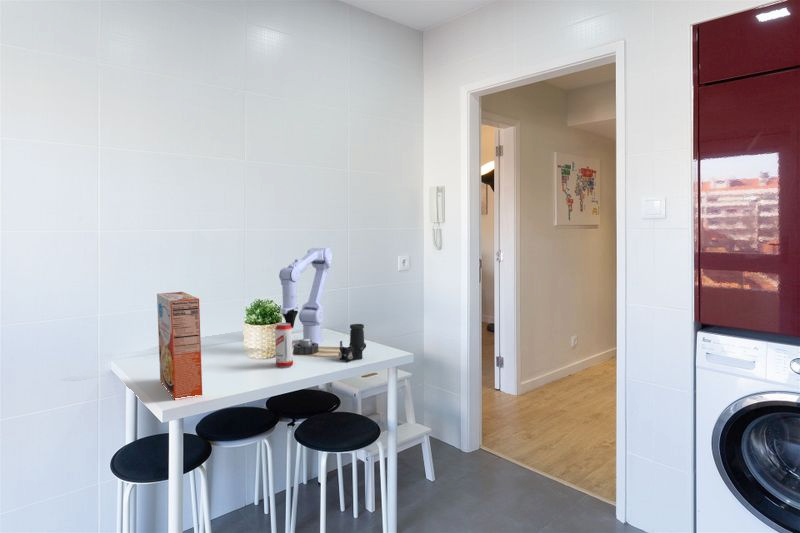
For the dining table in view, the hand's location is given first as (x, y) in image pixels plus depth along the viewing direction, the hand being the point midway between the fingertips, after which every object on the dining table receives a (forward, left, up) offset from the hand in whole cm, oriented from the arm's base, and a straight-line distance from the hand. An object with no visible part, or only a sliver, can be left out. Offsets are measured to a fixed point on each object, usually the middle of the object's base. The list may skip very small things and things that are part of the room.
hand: (290, 328), depth 211 cm
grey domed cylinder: (+3, +8, -9) cm, 12 cm away
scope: (+11, +31, -10) cm, 34 cm away
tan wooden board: (+1, +14, -10) cm, 17 cm away
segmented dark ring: (+3, +8, -9) cm, 12 cm away
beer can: (+23, +7, -10) cm, 26 cm away
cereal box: (+53, -16, -10) cm, 57 cm away
